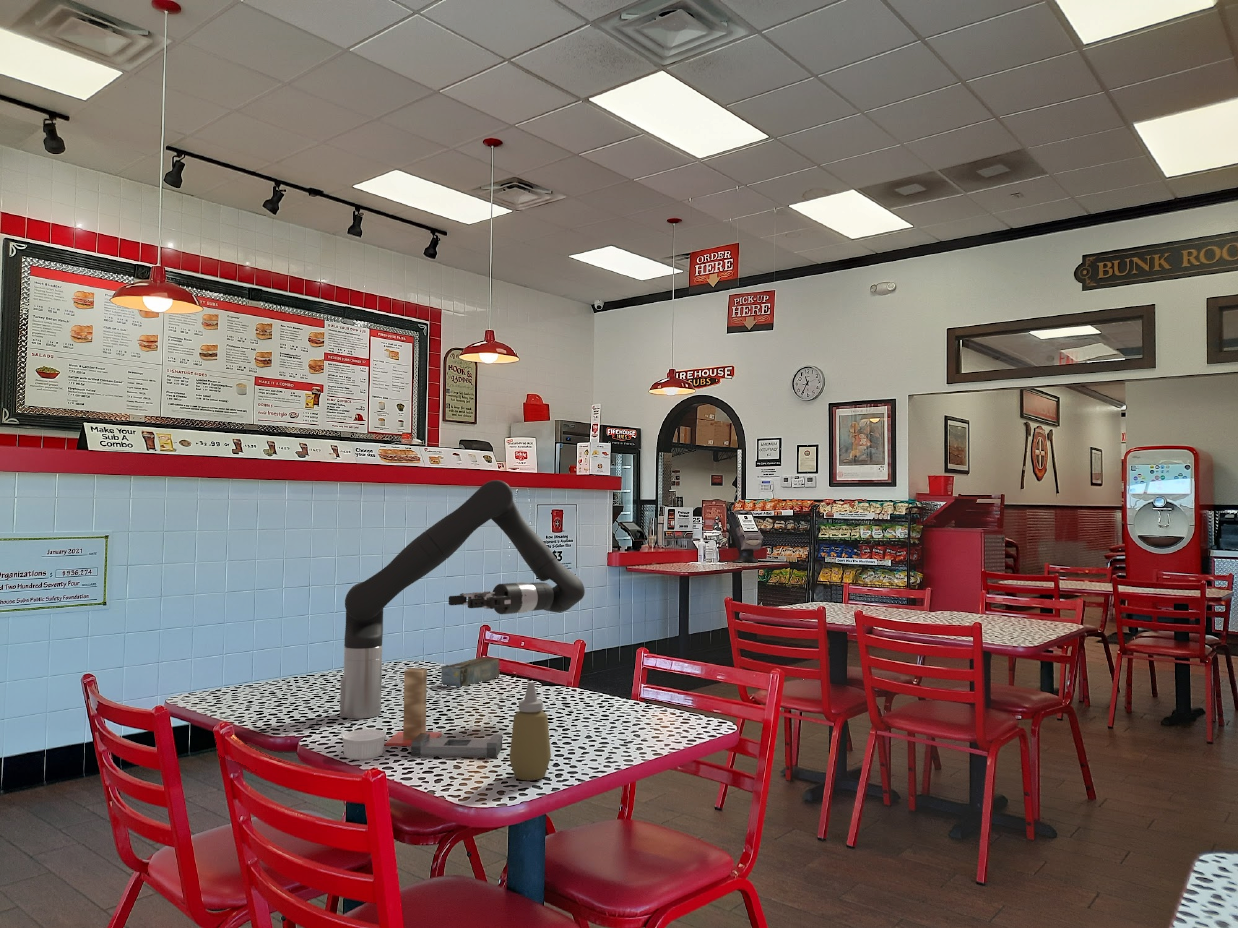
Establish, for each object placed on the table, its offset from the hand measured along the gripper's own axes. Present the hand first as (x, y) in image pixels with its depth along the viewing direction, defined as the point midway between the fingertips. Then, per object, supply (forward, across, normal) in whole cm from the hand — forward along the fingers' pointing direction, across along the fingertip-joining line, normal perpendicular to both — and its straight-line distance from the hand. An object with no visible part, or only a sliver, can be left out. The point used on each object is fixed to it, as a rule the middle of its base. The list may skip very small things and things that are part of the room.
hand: (458, 602), depth 201 cm
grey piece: (+9, +16, +30) cm, 35 cm away
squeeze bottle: (+8, +40, +30) cm, 50 cm away
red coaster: (+12, +1, +30) cm, 32 cm away
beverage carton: (-35, -48, +30) cm, 67 cm away
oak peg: (+11, +1, +29) cm, 32 cm away
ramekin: (+25, +4, +30) cm, 40 cm away
